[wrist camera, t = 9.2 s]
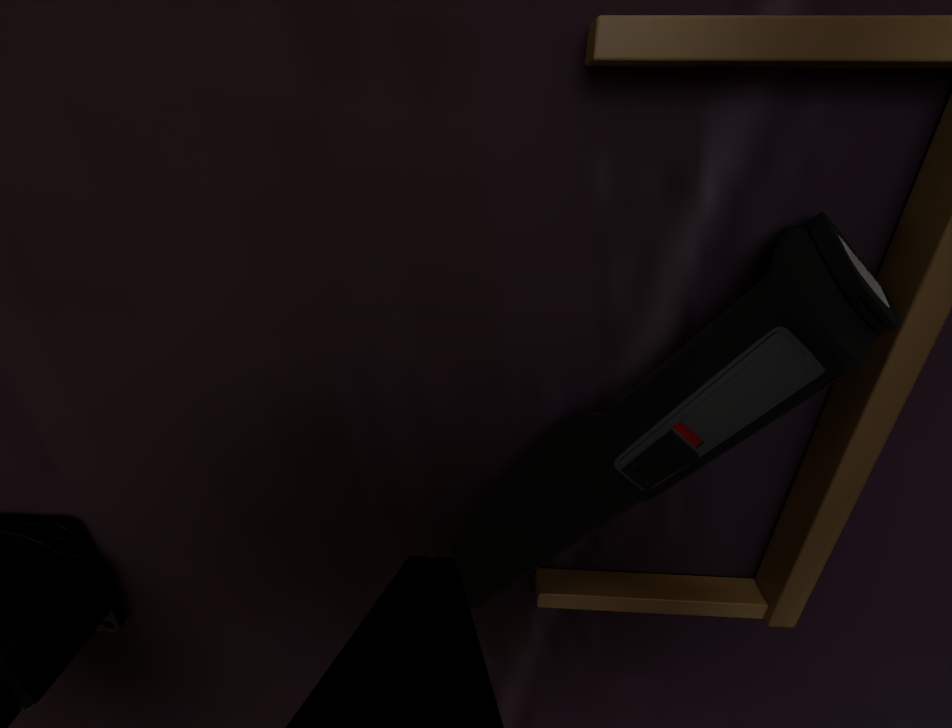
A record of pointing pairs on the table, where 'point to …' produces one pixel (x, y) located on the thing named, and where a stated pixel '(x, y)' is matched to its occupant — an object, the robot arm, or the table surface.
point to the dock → (853, 395)
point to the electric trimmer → (685, 408)
